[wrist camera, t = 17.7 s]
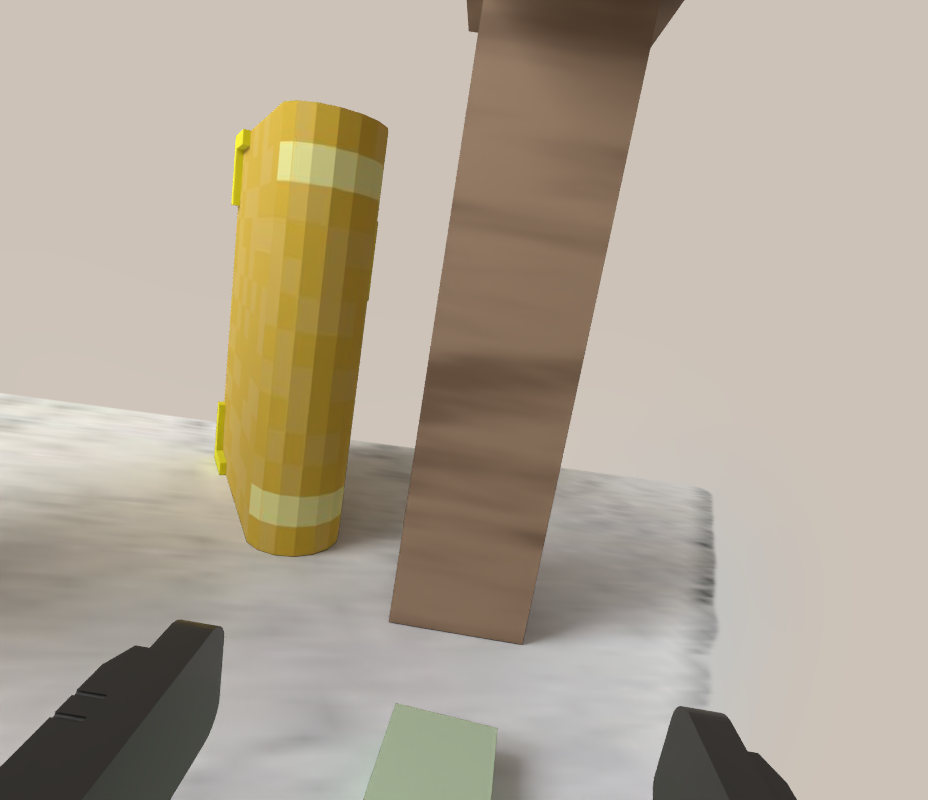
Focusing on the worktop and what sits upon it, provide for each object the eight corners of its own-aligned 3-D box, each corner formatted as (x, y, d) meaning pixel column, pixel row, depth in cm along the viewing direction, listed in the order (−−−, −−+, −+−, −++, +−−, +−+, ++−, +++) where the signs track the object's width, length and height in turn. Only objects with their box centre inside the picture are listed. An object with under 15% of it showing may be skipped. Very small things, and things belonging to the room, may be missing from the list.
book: (214, 456, 46) (235, 136, 40) (296, 455, 49) (326, 159, 44) (243, 561, 32) (283, 89, 26) (356, 549, 35) (412, 129, 30)
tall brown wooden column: (553, 724, 24) (831, -451, 15) (345, 688, 24) (508, -505, 15) (531, 580, 35) (683, -139, 26) (390, 556, 35) (498, -171, 26)
